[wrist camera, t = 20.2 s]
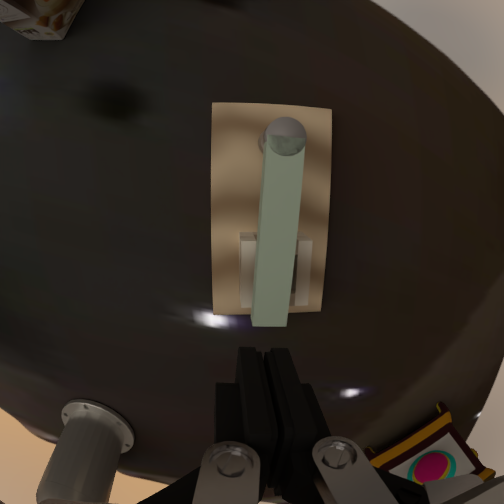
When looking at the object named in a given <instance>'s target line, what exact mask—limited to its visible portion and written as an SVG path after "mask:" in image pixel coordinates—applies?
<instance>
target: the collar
mask: <svg viewBox="0 0 504 504" xmlns="http://www.w3.org/2000/svg"><path fill="white" fill-rule="evenodd" d="M312 242H313V241H312V240H311V239H310V238H309V237H308V236H307V235H305V234H304V233H303V232H297V241H296V250H295V259H294V268H293V277H292V285H291V293H290V301H289V306H305V305H308V296H309V284H310V271H311V257H312ZM256 243H257V232H239V295H240V302H241V308H252V295H253V282H254V269H255V256H256Z"/></svg>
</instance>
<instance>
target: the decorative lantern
mask: <svg viewBox="0 0 504 504" xmlns="http://www.w3.org/2000/svg"><path fill="white" fill-rule="evenodd" d="M436 407H437V409H438V411H439V415H438V416H436V417H435V418H433V419H432V420H431V421H429V422H428V423H426V424H425V425H423V426H422V427H420V428H419V429H417V430H416V431H414V432H413V433H411V434H409V435H408V436H406V437H405V438H403V439H401V440H400V441H398V442H396V443H395V444H393V445H391V446H390V447H388V448H386V449H384V450H382V451H381V452H378V453H375V452H373V450H372V449H371V448H370V447H366V448H365V454H366V457H367V459H368V460H369V462H370V463H371V465H372V466H375V467H377V468H379V469H382V470H384V471H387V472H389V473H392V474H395V475H397V476H400V477H403V478H405V479H408V480H411V481H414V482H416V483H418V484H420V485H422V484H423V483H424V482H427V481H433V480H439V479H445V478H450V477H456V476H460V475H465V474H474V475H477V476H479V477H480V478H481V479H482V480H483V482H486V481H489V480H491V479H494V476H495V474H496V472H495V471H494V470H493V469H490V468H486V467H485V466H483V465H482V463H481V462H480V461H479V459H478V453H477V452H476V451H475V450H474V449H472V448H470V447H469V446H468V445H467V444H466V442H465V441H464V440H463V438H462V437H461V436H460V434H459V433H458V432H457V431H456V429H455V428H454V427H453V425H452V419H451V414H450V411H449V409H448V408H447V407H446V405H445V404H444V403H442V402H438V403H437V405H436Z"/></svg>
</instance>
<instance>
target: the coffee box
mask: <svg viewBox="0 0 504 504" xmlns="http://www.w3.org/2000/svg"><path fill="white" fill-rule="evenodd" d="M84 1H85V0H0V22H2V23H4V24H5V25H7V26H9V27H10V28H12V29H14V30H15V31H17V32H19V33H20V34H22V35H23V36H25V37H27V38H28V39H30V40H62V39H63V38H64V37H65V35H66V33H67V31H68V29H69V27H70V25H71V24H72V22H73V20H74V18H75V16H76V14H77V13H78V11H79V9H80V8H81V6H82V4H83V3H84Z"/></svg>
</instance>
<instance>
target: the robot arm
mask: <svg viewBox="0 0 504 504" xmlns="http://www.w3.org/2000/svg"><path fill="white" fill-rule="evenodd" d="M62 420H63V423H64V425H65V428H64V430H63V432H62V434H61V436H60V438H59V440H58V443H57V445H56V447H55V449H54V451H53V454H52V456H51V458H50V460H49V462H48V465H47V467H46V470H45V472H44V474H43V477H42V479H41V481H40V484H39V486H38V489H37V493H36V500H37V504H110V503H108V502H109V497H110V492H111V489H112V485H113V481H114V477H115V473H116V470H117V469H118V462H119V458H120V454H121V453H124V452H127V451H129V450H130V449H131V448H132V446H133V444H134V439H135V437H134V432H133V429H132V428H131V426H130V425H129V423H128V422H127V421H126V420H125V419H124V418H123V417H122V416H121V415H119V414H118V413H117V412H115V411H114V410H112V409H110V408H109V407H107V406H105V405H102V404H100V403H97V402H94V401H91V400H85V399H76V400H72V401H69V402H68V403H67V404H66V405H65V406H64V408H63V410H62ZM266 483H267V486H268V488H274V493H275V496H279V495H282V499H284V500H286V501H287V502H289V503H290V504H504V475H503V476H500V477H496V478H494V479H491V480H489V481H486V482H483V480H482V479H481V478H480V477H479V476H477V475H474V474H465V475H460V476H456V477H450V478H445V479H439V480H433V481H427V482H424V483H423V484H422V485H420V484H418V483H416V482H414V481H411V480H408V479H405V478H403V477H400V476H397V475H395V474H392V473H389V472H387V471H384V470H382V469H379V468H377V467H375V466H372V465H371V463H370V462H369V460H368V459H367V458H366V456H365V455H364V453H363V452H362V450H361V449H360V447H359V446H358V445H357V444H356V443H355V442H353V441H351V440H350V439H347V438H344V437H338V436H331V434H330V431H329V429H328V426H327V424H326V421H325V419H324V416H323V414H322V411H321V409H320V406H319V404H318V401H317V399H316V396H315V394H314V391H313V389H312V386H311V385H310V384H309V383H308V384H301V383H300V381H299V378H298V375H297V372H296V369H295V367H294V364H293V361H292V358H291V355H290V353H289V350H288V348H271V350H270V352H265V355H264V361H263V357H262V353H261V352H256V349H255V347H239V349H238V358H237V368H236V378H235V383H216V386H215V409H214V445H212V446H211V447H209V448H208V449H207V450H206V452H205V454H204V456H203V460H202V464H201V466H200V467H198V468H197V469H195V470H193V471H192V472H190V473H189V474H187V475H186V476H184V477H182V478H181V479H179V480H177V481H176V482H174V483H172V484H171V485H169V486H167V487H166V488H164V489H162V490H160V491H159V492H157V493H155V494H153V495H152V496H150V497H148V498H146V499H144V500H142V501H140V502H139V503H137V504H258V503H259V502H260V501H261V500H262V496H263V493H264V490H265V487H266ZM0 504H5V503H3V502H2V501H0Z"/></svg>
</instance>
